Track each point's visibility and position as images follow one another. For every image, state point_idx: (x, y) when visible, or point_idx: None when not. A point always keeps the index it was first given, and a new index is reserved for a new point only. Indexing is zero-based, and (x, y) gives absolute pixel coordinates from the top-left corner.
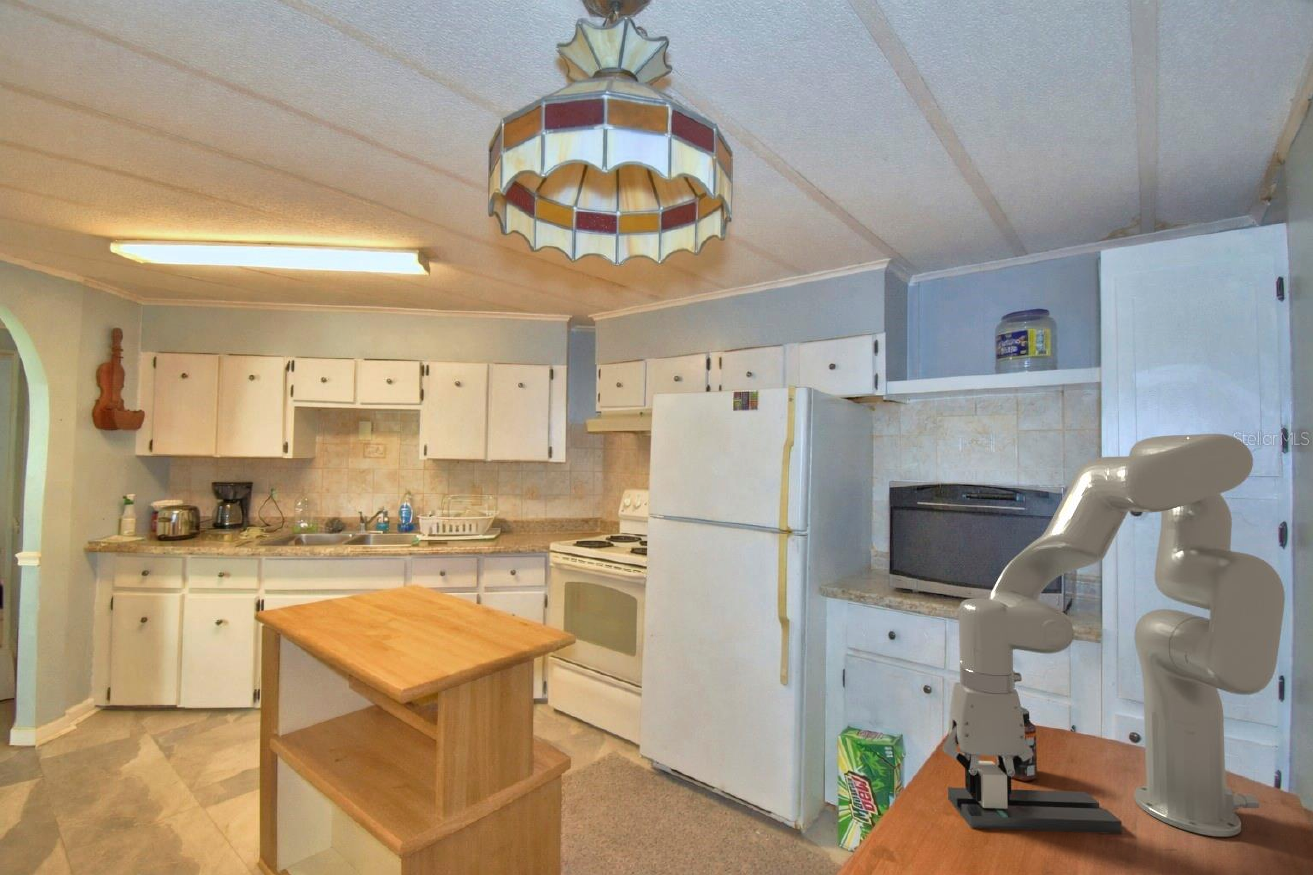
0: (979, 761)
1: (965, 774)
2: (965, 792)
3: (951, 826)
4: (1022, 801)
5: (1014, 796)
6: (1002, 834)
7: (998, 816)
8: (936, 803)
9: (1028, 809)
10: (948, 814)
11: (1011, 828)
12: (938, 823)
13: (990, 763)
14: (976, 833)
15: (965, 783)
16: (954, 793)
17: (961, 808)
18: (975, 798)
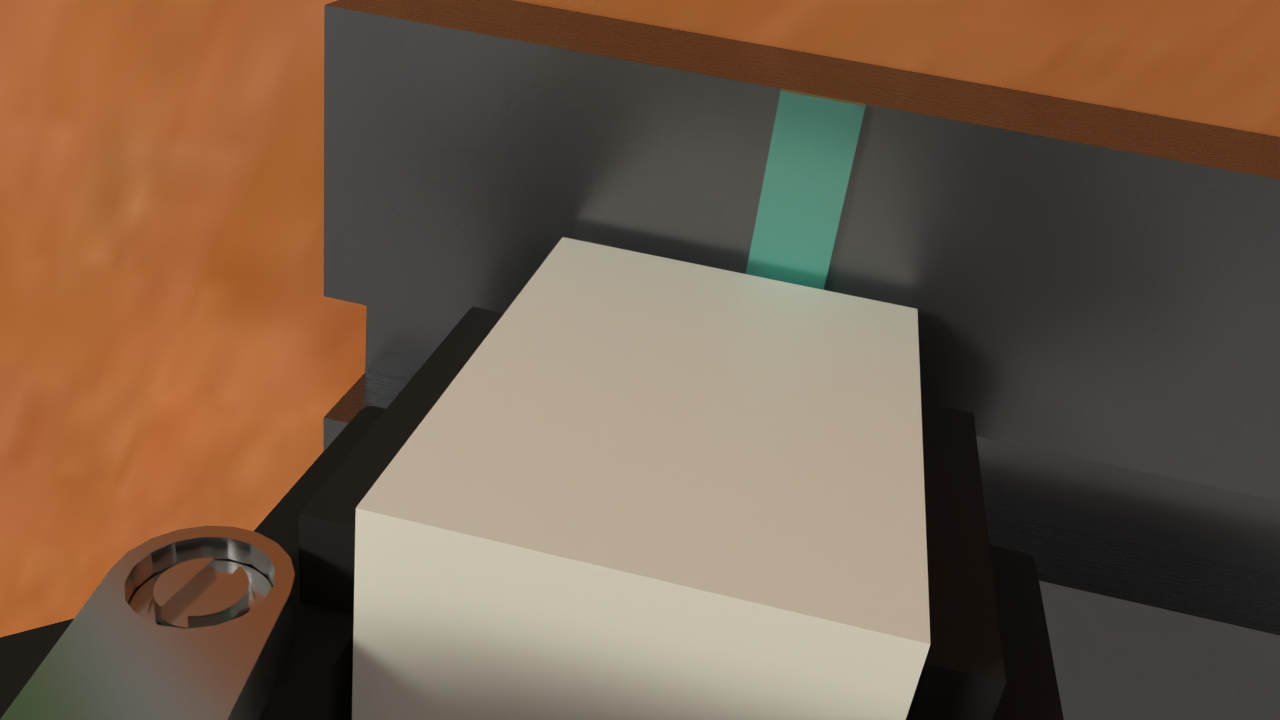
0: (585, 579)
1: (271, 524)
2: (521, 183)
3: (199, 485)
4: (1258, 491)
5: (1242, 386)
6: None
7: None
8: (197, 75)
9: (1138, 666)
10: (251, 305)
11: None
12: (92, 423)
13: (791, 714)
14: None
15: (347, 431)
16: (346, 184)
17: (398, 313)
18: None
